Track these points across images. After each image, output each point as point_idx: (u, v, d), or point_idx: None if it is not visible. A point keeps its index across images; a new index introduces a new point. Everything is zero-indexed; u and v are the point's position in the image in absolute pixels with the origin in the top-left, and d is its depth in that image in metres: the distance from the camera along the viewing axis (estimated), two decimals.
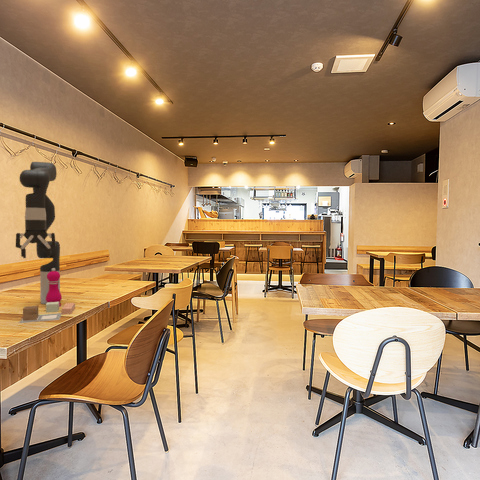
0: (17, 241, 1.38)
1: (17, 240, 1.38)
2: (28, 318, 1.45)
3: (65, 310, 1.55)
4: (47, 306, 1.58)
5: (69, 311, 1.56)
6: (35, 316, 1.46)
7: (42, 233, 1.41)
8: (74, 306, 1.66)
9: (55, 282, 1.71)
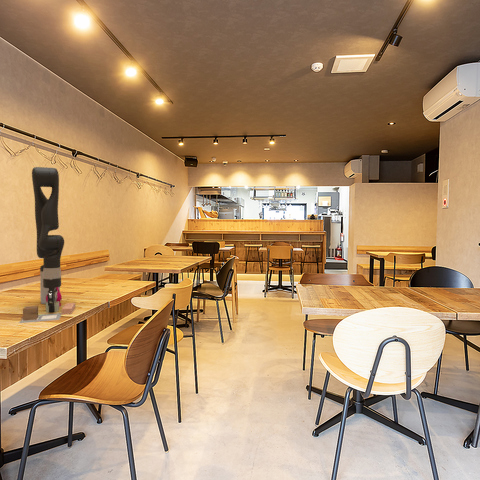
0: (53, 300, 1.56)
1: (53, 299, 1.56)
2: (28, 318, 1.45)
3: (65, 310, 1.55)
4: (47, 306, 1.58)
5: (69, 311, 1.56)
6: (35, 316, 1.46)
7: (55, 288, 1.63)
8: (74, 306, 1.66)
9: None
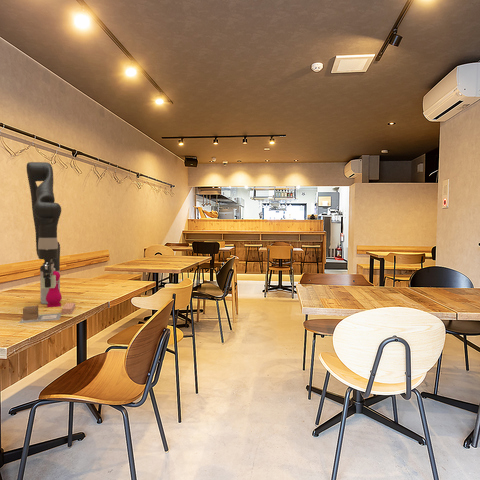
0: (49, 272, 1.45)
1: (49, 271, 1.44)
2: (28, 318, 1.45)
3: (65, 310, 1.55)
4: (42, 279, 1.46)
5: (69, 311, 1.56)
6: (35, 316, 1.46)
7: (52, 260, 1.52)
8: (74, 306, 1.66)
9: None
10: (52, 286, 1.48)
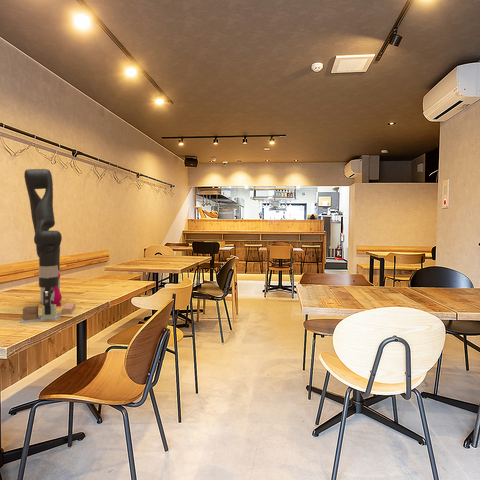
0: (50, 299, 1.44)
1: (50, 298, 1.44)
2: (28, 318, 1.45)
3: (65, 310, 1.55)
4: (43, 309, 1.47)
5: (69, 311, 1.56)
6: (35, 316, 1.46)
7: (52, 288, 1.52)
8: (74, 306, 1.66)
9: None
10: (52, 316, 1.48)
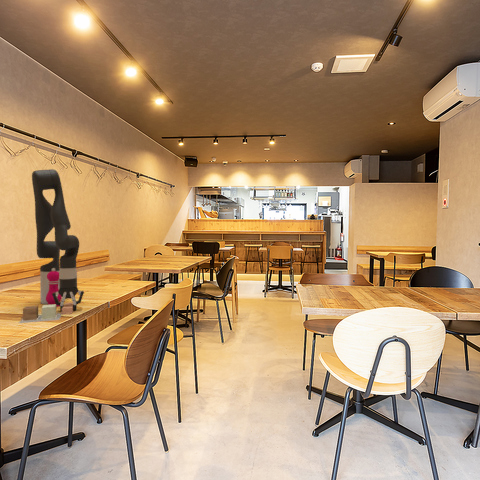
0: None
1: None
2: (28, 318, 1.45)
3: (65, 309, 1.55)
4: (43, 309, 1.47)
5: (69, 310, 1.56)
6: (35, 316, 1.46)
7: None
8: None
9: (55, 282, 1.71)
10: (52, 316, 1.48)
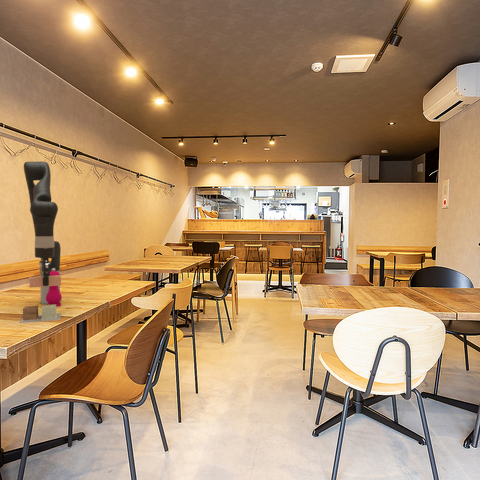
0: (49, 270, 1.47)
1: (49, 269, 1.47)
2: (28, 318, 1.45)
3: None
4: (43, 309, 1.47)
5: (29, 281, 1.46)
6: (35, 316, 1.46)
7: None
8: (56, 279, 1.51)
9: None
10: (52, 316, 1.48)
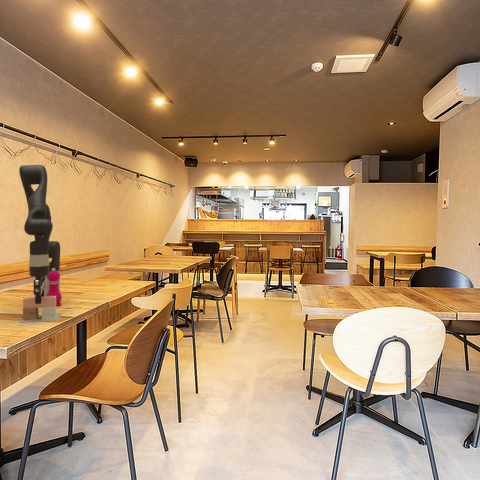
0: (40, 288, 1.43)
1: (40, 287, 1.43)
2: (28, 318, 1.45)
3: None
4: (43, 309, 1.47)
5: None
6: (35, 316, 1.46)
7: (43, 277, 1.51)
8: (50, 301, 1.48)
9: (55, 282, 1.71)
10: (52, 316, 1.48)
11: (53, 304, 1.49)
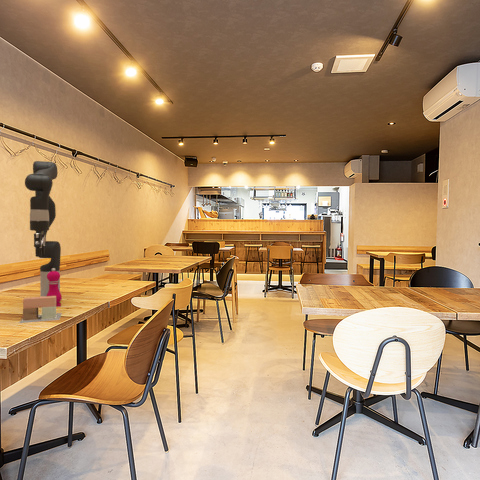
0: (40, 241, 1.47)
1: (40, 240, 1.47)
2: (28, 318, 1.45)
3: None
4: (43, 309, 1.47)
5: None
6: (35, 316, 1.46)
7: (43, 233, 1.55)
8: (50, 301, 1.48)
9: (55, 282, 1.71)
10: (52, 316, 1.48)
11: (53, 304, 1.49)
